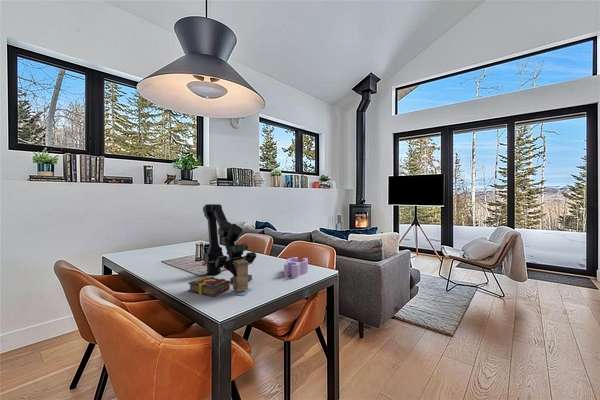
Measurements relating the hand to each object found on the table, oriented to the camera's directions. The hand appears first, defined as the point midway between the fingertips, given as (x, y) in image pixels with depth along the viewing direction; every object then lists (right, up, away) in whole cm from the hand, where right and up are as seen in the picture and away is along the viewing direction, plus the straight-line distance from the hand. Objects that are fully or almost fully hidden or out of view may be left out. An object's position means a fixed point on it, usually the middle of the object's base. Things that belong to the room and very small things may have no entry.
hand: (241, 275), depth 123 cm
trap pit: (-4, -8, +17) cm, 19 cm away
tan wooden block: (-1, -7, +1) cm, 7 cm away
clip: (+24, -8, +32) cm, 41 cm away
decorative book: (-15, -8, +3) cm, 18 cm away
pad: (-1, -8, +1) cm, 8 cm away
